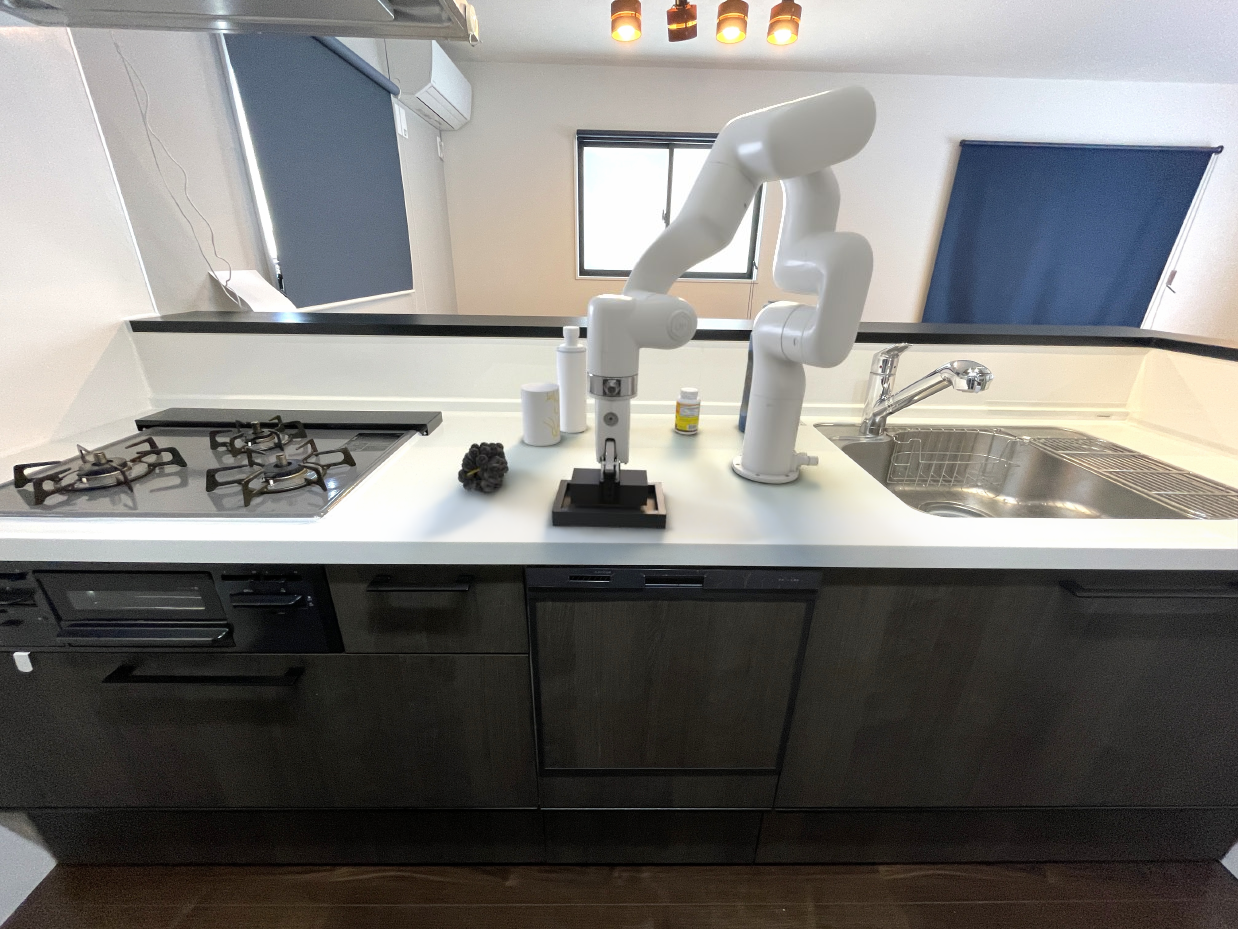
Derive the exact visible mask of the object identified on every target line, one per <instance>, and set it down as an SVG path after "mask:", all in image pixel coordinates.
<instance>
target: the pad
mask: <svg viewBox="0 0 1238 929" xmlns="http://www.w3.org/2000/svg"><path fill="white" fill-rule="evenodd" d="M614 470H615V471H616V469H614ZM599 479H601V468H593V467H592V468H589V467H588V468H587V467H586V468H585V467H573V470H572V474H571V477H570V480H571V482H570V503H571V504H600V503H599ZM619 480H620V501H619V504H617V505H636V506H647V497H648V482H649V481H648V480H649V479H648V472H647V469H627V468H626V469H621V468H620V469H619ZM603 505H615V504H603Z"/></svg>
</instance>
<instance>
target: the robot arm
mask: <svg viewBox="0 0 1238 929" xmlns="http://www.w3.org/2000/svg"><path fill="white" fill-rule="evenodd" d="M876 123H877V106H876V102H875V99H874V97H873V95H872V94H871V92H870V91H869V90H868V89H867V88H866V87H864V86H862V85H858V84H849V85H845V86H841V87H837V88H834V89H830V90H827V91H824V92H821V93H817V94H814V95H810V96H805V97H802V98H798V99H796V100H793V101H787V102H784V103H780V104H775V105H773V106H769V107H765V108H763V109H759V110H756V111H752V112H749V113H746V114H742V115H740V116H737V117H735V118H733V119H731V120H730V121H729V122H728V123H726V124H725V125H724V126H723V128H722V129H720V132H718V134H717V137H716V139H715V140H714V142H713V144H712V146H711V149H710V151H709V153H708V155H707V157H706V159H705V161H704V163H703V166H702V167H701V169H700V171H699V173H698V175H697V177H696V179H695V181H694V183H693V185H692V186H691V189H690V191H689V193H688V195H687V197H686V200H685V202H684V204H683V205H682V208H681V209H680V211H679V212H678V214H677V216H676V217H675V219H674V220H672V222H671V223H670V224H669V225H668V226H667V227H666V228H664V230H663V231H662V232H661V233H660V234H659V235H658V236H657V237H656V238H655V240H654V241H653V242H652V243H651V244H650V245H649V246H648V248H646V250H645V251H644V252H643V253H642V255H641V256H640V257H639V259H638V260H637V261H636V263H635V264H634V266H633V268H632V270H631V271H630V274H629V276H628V278H627V280H626V282H625V284H624V286H623V288H622V290H621V292H620V294H619V295H618V294H603V295H596V296H593V297H592V298H591V299H590V300H589V301H588V303H587V309H586V365H587V396H588V397H590V398H593V399H594V442H595V443H594V445H595V456H596V457H595V458H596V462H597V463H598V464H600V469H601V479H599V503H600V504H615V505H617V504H619V501H620V480H619V469H621V464H623V465H628V464H629V463H630V462H629V461H630V441H631V440H630V438H631V410H632V408H631V400H632V399H635V398H636V397H638V392H639V391H638V390H639V365H640V350H641V349H653V350H662V351H663V350H665V351H669V350H676V349H680V348H682V347H683V346H686V345H687V344H688V343H689V342H690V341H692V339H693V338H694V336H695V334H696V331H697V329H698V314H697V312H696V310H695V309H694V307H693V305H692V304H691V303H690V302H688V301H687V300H686V299H684V298H682V297H679V296H677V295H673V294H668V293H669V291H670V290H671V288H672V287H673V285H674V284H675V283H676V281H678V279H679V278H680V277H682V275H684V274H685V273H686V272H687V271H688V270H690V269H691V268H693V267H695V266H696V265H698V264H700V263H702V262H704V261H706V260H708V259H710V258H712V257H714V256H715V255H717V254H718V253H720V252H722V251H723V250H724V249H726V248H727V247H728V246H729V245H731V243H732V241H733V239H734V238H735V235H736V234H737V232H738V229H739V228H740V225H741V224H742V222H743V219H744V217H745V216H746V214H747V211H748V210H749V208H750V206H751V204H752V202H753V200H754V198H755V196H756V194H757V192H758V190H759V189H760V188H761V186H762V184H765V183H771V182H777V181H778V182H780V184H781V188H782V192H783V209H782V216H781V217H782V218H781V223H780V227H779V233H778V239H777V244H776V249H775V255H774V260H773V267H772V279H773V282H774V285H775V286H776V288H778V289H779V290H781V291H782V292H786V293H789V294H795V295H801V296H802V295H803V296H811V297H817V298H818V299H817V304H811V303H805V302H804V303H803V302H797V301H788V302H776V303H773V304H770V305H768V306H766V307H765V308H764V309H763V308H762V309H761V310H760V311H759V312H758V314H757V315H756V317H755V319H754V322H753V327H752V331H751V333H752V341H753V358H754V359H753V375H752V384H751V391H750V398H749V405H748V413H747V420H746V428H745V432H744V437H743V443H742V450H741V451H742V452H741V455H738V456H736V457H735V458H734V459H733V460H732V469H733V471H734V472H735V473H736V474H737V475H739V476H740V477H743V478H745V479H747V480H750V481H754V482H758V483H763V484H764V483H765V484H787V483H790V482H793V481H795V480H797V479H798V477H799V476H800V474H799V473H800V468H801V467H802V466H808V467H818V465H819V460H820V459H819V456H818V455H808V453H807V452H806V451H805V452H801V451H799V452H798V451H796V450H795V449H796V442H797V437H798V431H799V427H800V422H801V421H800V420H801V416H802V415H801V414H802V408H803V403H804V398H805V394H806V387H807V378H806V372H805V368H804V365H805V366H806V365H807V366H810V367H816V368H821V369H831V368H836V367H838V366H839V365H841V364H842V363H843V362H845V360H846V359H847V358H848V356H849V355H850V353H851V352H852V349H853V347H854V344H855V342H856V339H857V335H858V332H859V327H860V324H861V320H862V316H863V313H864V308H865V305H866V301H867V297H868V293H869V289H870V285H871V282H872V281H871V280H872V276H873V272H874V252H873V249H872V248H873V247H872V245H871V243H870V241H869V240H868V238H866V236H864V235H862V234H861V233H859V232H854V231H836V229H837V223H838V217H839V212H840V206H841V189H840V185H839V184H840V183H839V182H838V178H837V177H836V176H837V175H836V174H835V172H834V170H833V168H832V166H834V165H837V164H840V163H843V162H845V161H848V160H850V159H852V158H853V157H855V156H856V155H858V154H859V153H861V151H862V150H864V148H865V147H866V145H867V144H868V143H869V141H870V140H871V137H872V135H873V133H874V130H875V127H876ZM614 469H616V471H615V470H614Z"/></svg>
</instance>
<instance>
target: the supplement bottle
mask: <svg viewBox="0 0 1238 929" xmlns="http://www.w3.org/2000/svg"><path fill="white" fill-rule="evenodd" d="M701 402H702V401H701V398H700V397H699V390H698V389H697V388H695V387H682V388H680V393H679V395H678V396H677V397H676V404H675V417H674V418H675V419H674V431H675V432H676V433H678V434H680V435H687V436H689V435H694V434H695V435H696V433H698V431H699V424H700V413H701Z"/></svg>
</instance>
